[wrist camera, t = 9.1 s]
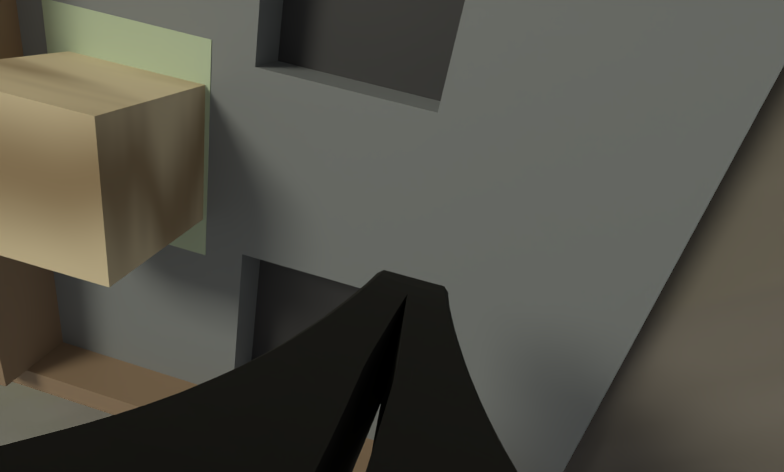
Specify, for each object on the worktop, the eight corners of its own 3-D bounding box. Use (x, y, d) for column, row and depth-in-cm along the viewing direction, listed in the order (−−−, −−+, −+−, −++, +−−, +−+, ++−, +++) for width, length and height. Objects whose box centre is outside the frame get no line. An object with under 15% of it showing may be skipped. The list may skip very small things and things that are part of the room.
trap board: (539, 471, 23) (547, 582, 19) (78, 327, 25) (-12, 396, 21) (858, -156, 12) (1056, -242, 8) (2, -315, 15) (-217, -451, 10)
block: (203, 219, 19) (109, 287, 14) (82, 186, 19) (-45, 242, 15) (205, 85, 16) (94, 116, 12) (68, 50, 17) (-87, 69, 12)
